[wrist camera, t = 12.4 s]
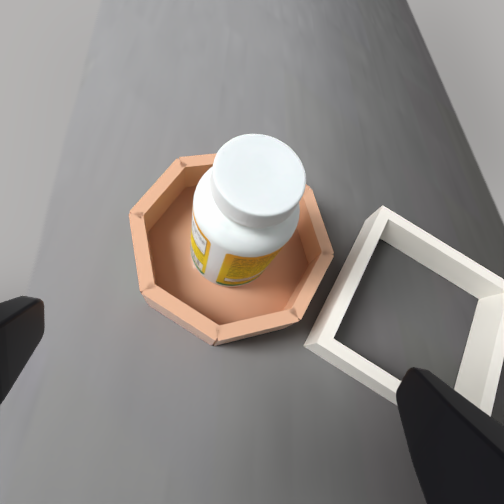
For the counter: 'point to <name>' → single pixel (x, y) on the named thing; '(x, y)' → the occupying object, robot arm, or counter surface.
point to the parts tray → (446, 265)
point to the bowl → (202, 290)
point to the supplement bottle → (245, 209)
